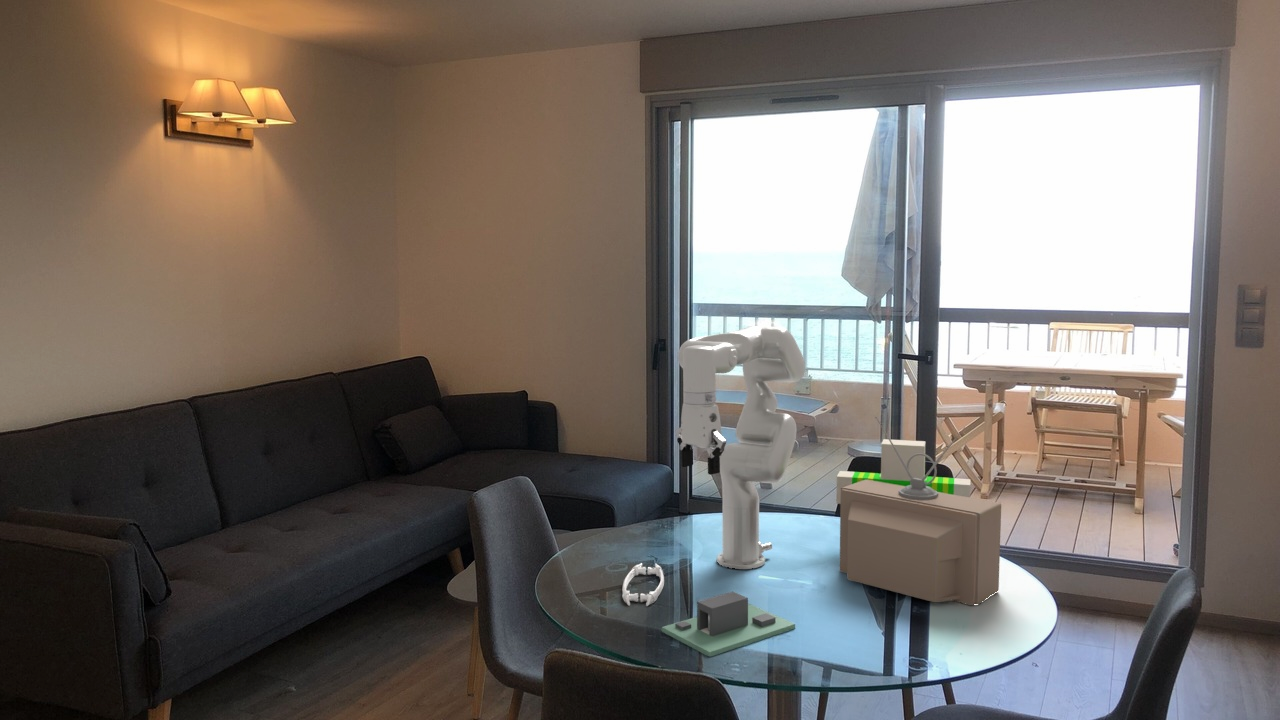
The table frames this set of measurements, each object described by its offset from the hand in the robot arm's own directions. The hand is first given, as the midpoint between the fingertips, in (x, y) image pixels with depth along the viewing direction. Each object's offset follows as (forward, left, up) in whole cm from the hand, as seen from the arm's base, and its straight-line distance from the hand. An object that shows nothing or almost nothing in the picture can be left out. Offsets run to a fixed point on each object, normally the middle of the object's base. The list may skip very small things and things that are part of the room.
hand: (700, 469), depth 221 cm
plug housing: (+12, +22, -29) cm, 38 cm away
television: (-44, +27, -30) cm, 60 cm away
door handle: (+9, -11, -30) cm, 34 cm away
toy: (-62, +10, -30) cm, 70 cm away
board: (+10, +22, -30) cm, 38 cm away
